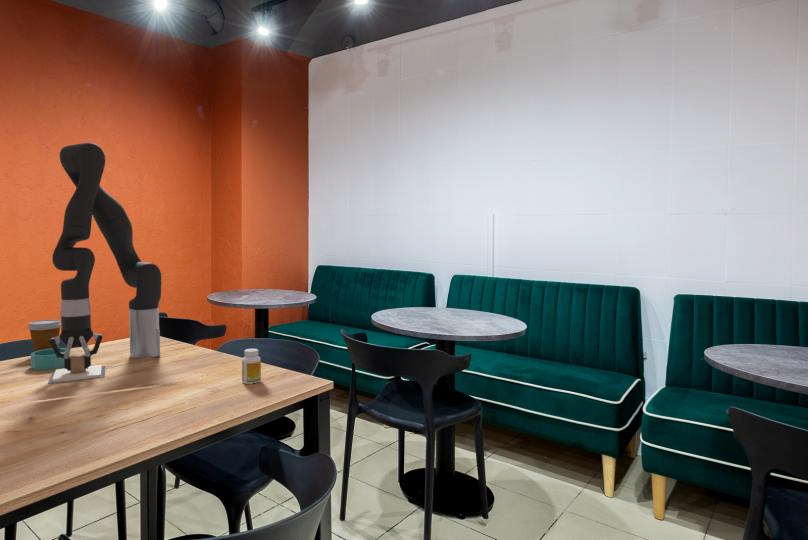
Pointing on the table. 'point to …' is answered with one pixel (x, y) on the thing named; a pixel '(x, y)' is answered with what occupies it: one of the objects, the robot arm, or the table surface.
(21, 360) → the table surface
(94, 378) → the mat
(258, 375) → the supplement bottle
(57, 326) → the disposable coffee cup
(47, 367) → the bowl
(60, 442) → the table surface
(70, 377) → the lid
